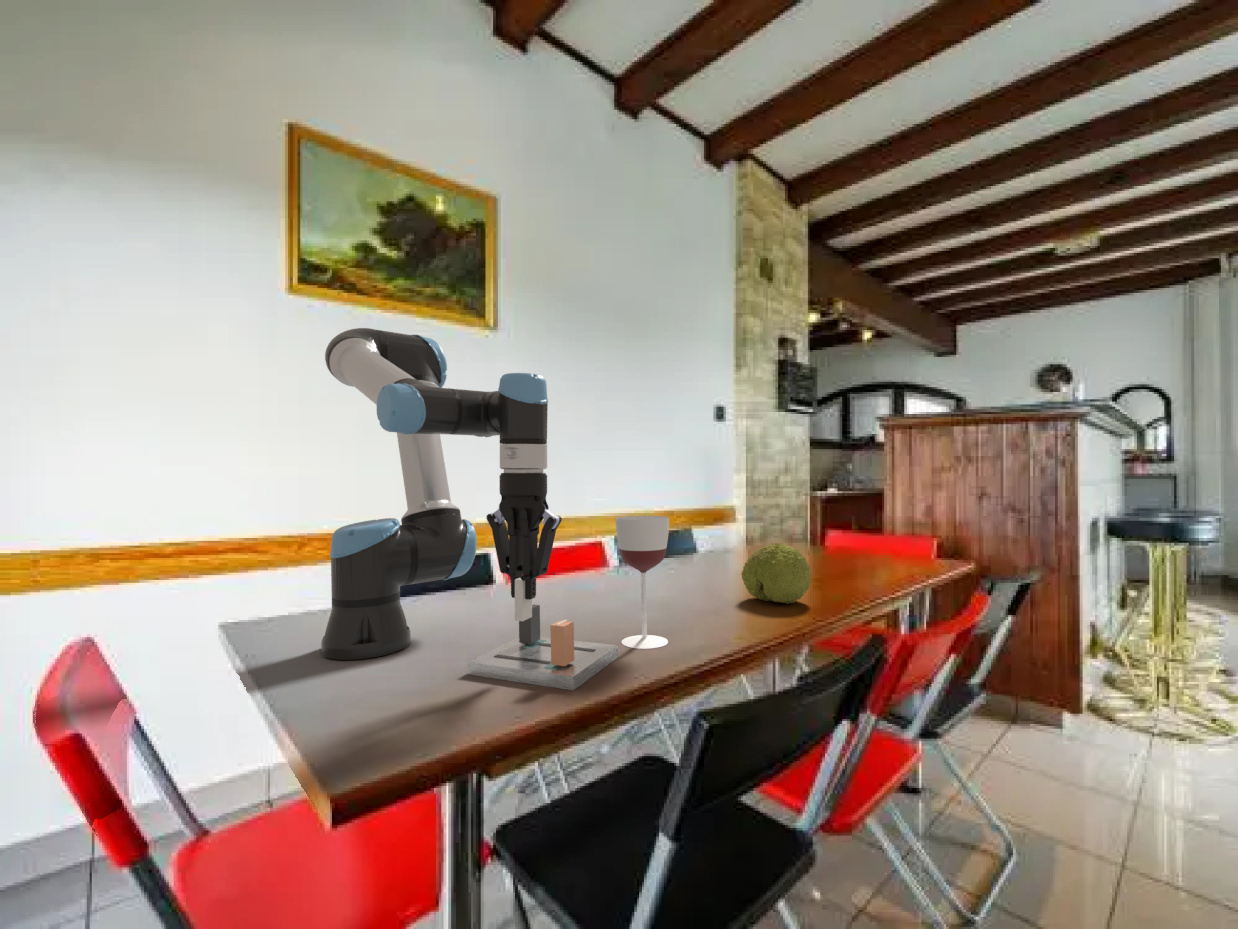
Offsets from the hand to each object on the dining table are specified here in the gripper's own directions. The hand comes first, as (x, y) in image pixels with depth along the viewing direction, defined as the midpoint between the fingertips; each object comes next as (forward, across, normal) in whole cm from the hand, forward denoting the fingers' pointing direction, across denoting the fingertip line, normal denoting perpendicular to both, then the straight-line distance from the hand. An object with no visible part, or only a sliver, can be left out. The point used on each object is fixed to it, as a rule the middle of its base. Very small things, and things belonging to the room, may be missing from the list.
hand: (523, 618), depth 92 cm
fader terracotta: (+6, +7, 0) cm, 9 cm away
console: (+9, +2, +4) cm, 9 cm away
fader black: (+6, -4, +8) cm, 11 cm away
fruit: (+9, +30, +63) cm, 70 cm away
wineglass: (+9, +12, +22) cm, 26 cm away
